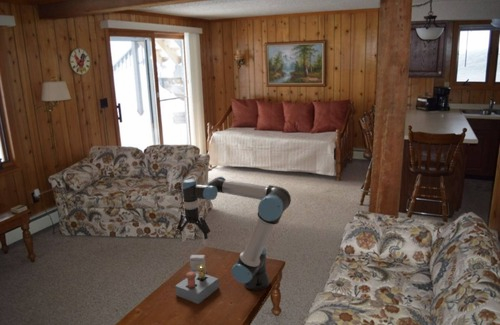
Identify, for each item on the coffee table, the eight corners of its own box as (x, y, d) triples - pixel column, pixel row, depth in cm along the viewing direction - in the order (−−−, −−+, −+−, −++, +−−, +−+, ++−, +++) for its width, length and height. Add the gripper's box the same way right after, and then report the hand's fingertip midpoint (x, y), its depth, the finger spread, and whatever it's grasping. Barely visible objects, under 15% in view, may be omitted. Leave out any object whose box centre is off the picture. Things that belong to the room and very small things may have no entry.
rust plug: (198, 287, 227) (197, 273, 224) (192, 292, 222) (191, 277, 220) (191, 284, 230) (190, 270, 227) (184, 289, 225) (183, 275, 223)
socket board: (218, 287, 234) (218, 278, 232) (198, 304, 219) (197, 294, 218) (197, 280, 242) (196, 271, 241) (176, 295, 228) (175, 285, 226)
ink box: (206, 271, 251) (205, 254, 248) (204, 276, 246) (203, 258, 243) (192, 271, 252) (191, 254, 249) (190, 275, 247) (189, 258, 244)
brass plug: (209, 279, 234) (208, 266, 232) (202, 284, 230) (202, 270, 227) (201, 277, 237) (200, 263, 234) (195, 281, 232) (194, 267, 230)
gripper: (214, 207, 224) (217, 242, 230) (175, 202, 234) (179, 237, 240) (207, 211, 218) (210, 248, 223) (168, 207, 228) (172, 242, 233)
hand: (194, 242), depth 231 cm, fingers open, 13 cm apart
